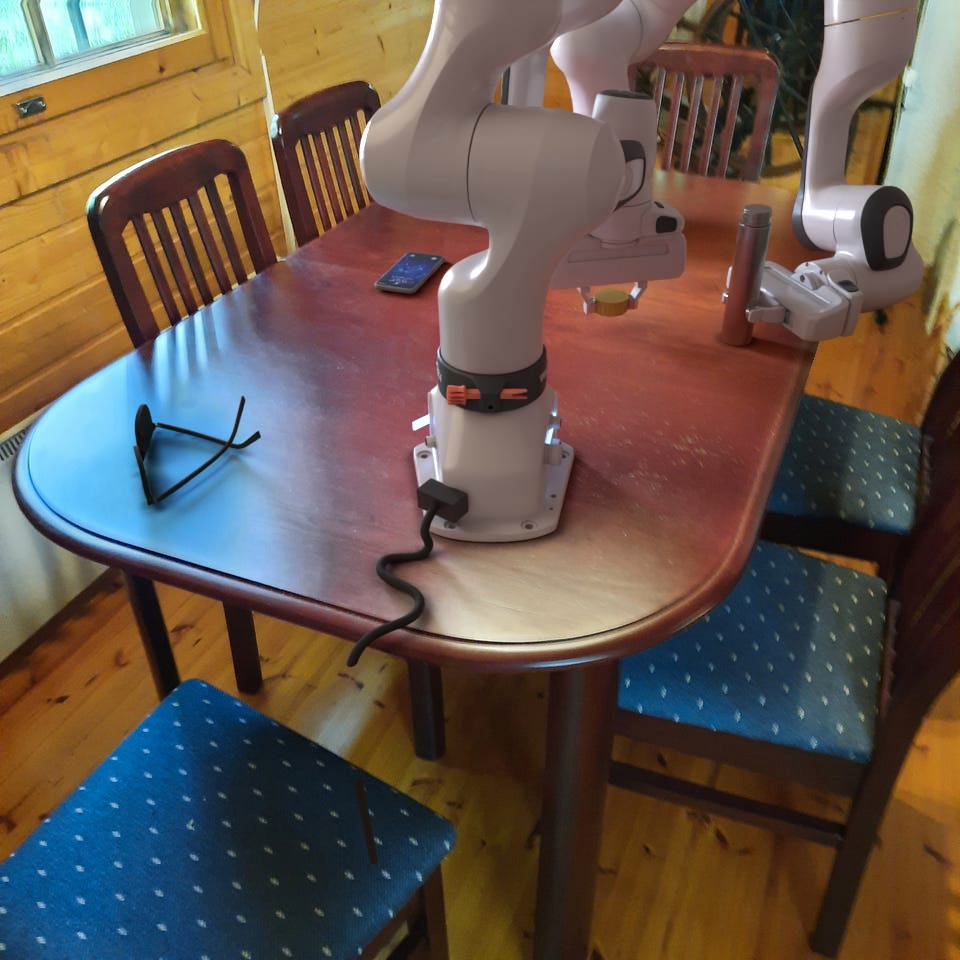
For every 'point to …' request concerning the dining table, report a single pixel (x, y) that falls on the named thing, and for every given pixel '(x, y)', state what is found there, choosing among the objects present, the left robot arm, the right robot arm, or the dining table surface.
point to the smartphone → (409, 272)
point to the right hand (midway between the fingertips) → (735, 307)
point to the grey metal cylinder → (746, 272)
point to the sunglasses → (147, 427)
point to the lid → (611, 302)
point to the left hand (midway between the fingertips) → (610, 310)
